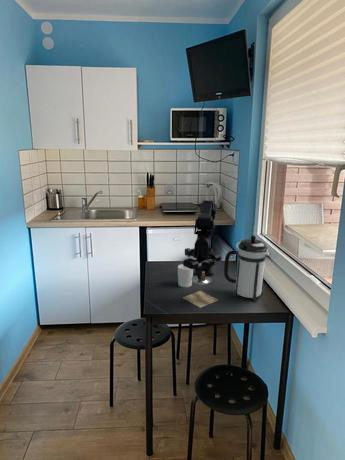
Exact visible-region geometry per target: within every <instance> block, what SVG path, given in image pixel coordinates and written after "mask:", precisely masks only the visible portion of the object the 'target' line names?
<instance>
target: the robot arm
mask: <svg viewBox="0 0 345 460" xmlns="http://www.w3.org/2000/svg"><path fill="white" fill-rule="evenodd" d="M217 214H218V204H216V203H214V201H213V200H203V201H202V202H201V203H200V205H199V215H197V218H196V219H195V222H194V233H193V235H196V240H195V241H194V242H195V243H194V246H193V247H194V248H190V247H189V248H188V247H187V248H184V256H185V257H187V258H185V259H184V260H183V261H182V262H183V263H182V264H183V266H185V267H187V268H190V269H193V270H194V271H195V274H196V276H197V278H198V279H200V278H201V274H202V271H203V270H205V277H206V276H207V277H211V276H214V273H213V272H212V270H213V267H214V266H215V265H216V262H220V261H221V260H222V259H221V258H222V255H221V254H219V253H217V252H215V251H214V249H213V248H212V247H211V245H212V244H211V243H212V236H213V234H214V233H215V224H216V223H215V221H214V220H215V219H216V215H217ZM191 257H192V258H191ZM193 258H194V259H193Z"/></svg>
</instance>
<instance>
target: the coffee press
mask: <svg viewBox="0 0 345 460" xmlns="http://www.w3.org/2000/svg"><path fill="white" fill-rule="evenodd" d="M237 247H238V250H230V251H228V252H227V253H226V255H225V258H224V267H223V269H224V270H223V275H224V278H225V279H226V280H227V281H228V282H230V283H232V284H234V285H235V291H234V293H233V294H232V296H233V297H236V298H237V297H238V296H241V297H244V298H248V299H251V301H252V302H253V303H257V302H258V301H257V298H258V297H260V296H262V295H263V291H262V289H263V288H262V287H263V282H264V281H263V280H264V270H265V263H266V262H265V261H266V258H267V257H268V256H270V253H269V250H268V247H267V245H266V243H265V242H264V241H262V240H260V239H257V238H256V235H254V234H252V235H251V236H250V238H245V239H242V240H241V241H240V242H239V244H238V245H237ZM232 255H237V265H236V266H237V267H236V268H237V269H236V275H235V276H236V277H235V278H232V277H231V276H230V275H229V265H230V258H231V256H232ZM266 256H267V257H266Z"/></svg>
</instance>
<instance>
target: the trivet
mask: <svg viewBox="0 0 345 460" xmlns="http://www.w3.org/2000/svg"><path fill="white" fill-rule="evenodd" d="M182 299H183V300H185V301H187V302H189V303H191V304H192V305H195V306H197V307H198V308H200V309H201V308H203V307H206V306H209V305H211V304H213V303H215V302H218V301H219V299H218V298H216V297H214V296H212V295H211V294H208V293H206V292H204V291H202V290H199V291H196V292H193V293H190V294H188V295H185V296H183V297H182Z"/></svg>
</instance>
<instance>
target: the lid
mask: <svg viewBox="0 0 345 460" xmlns="http://www.w3.org/2000/svg"><path fill="white" fill-rule="evenodd" d="M191 280H192V284H193V283H194V284H196V285H201V286H202V285H210V284H211V283H212V278H211V276H209V277H207V276H206V277H205V270H203V271H202V274H201V278H200V279H198V278H197V275H193V277H192V279H191Z"/></svg>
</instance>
